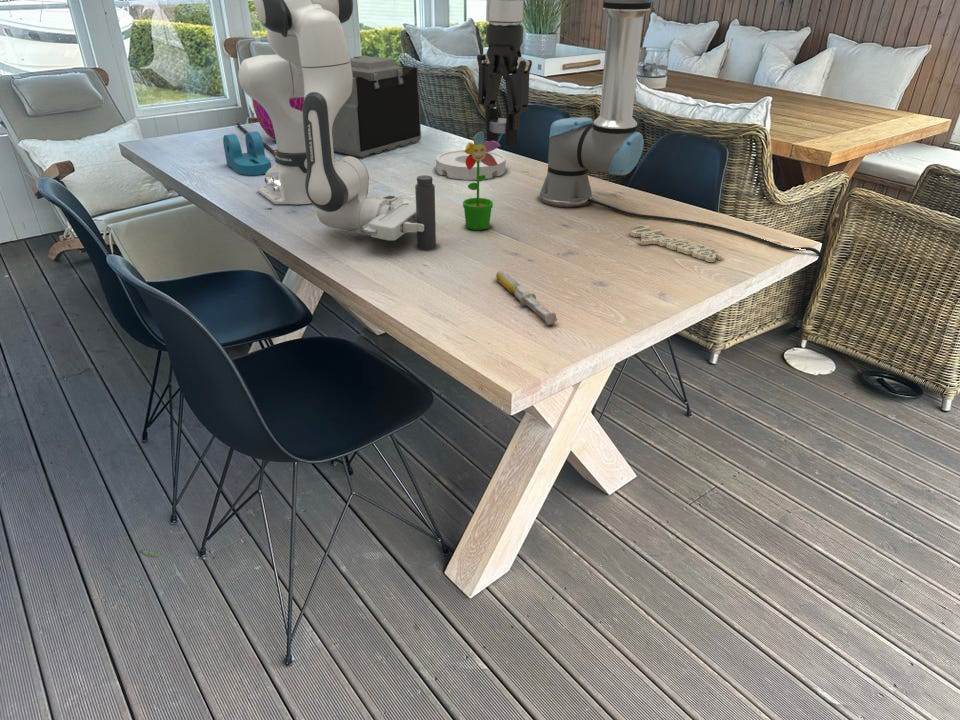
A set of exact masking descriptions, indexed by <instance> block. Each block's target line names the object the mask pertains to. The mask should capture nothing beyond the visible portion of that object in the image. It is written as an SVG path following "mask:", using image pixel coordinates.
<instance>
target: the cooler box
mask: <svg viewBox="0 0 960 720" xmlns="http://www.w3.org/2000/svg"><path fill="white" fill-rule="evenodd" d="M350 62H351V68H352V75H353V86H352V93H351V95H350V97H349V98H348V100H347V101H346V102H345V104H344V105H343V106H342V107H341V109H340V110H339V112H338V113H337V115H336V117H335V119H334V122H333V127H332V139H333V150H334V152H335V153H340V154H344V155H347V156H353V157H356V158H362V159H363V158H366V157H367V158H368V157H369V155H371V154H375V155H377V154H381V153H382V152H383V151H391V150H395V149H396V148H397V147H405V146H407V145H408V144H416V143H418V142H419V141H421V137H422V128H421V97H420V92H419V91H420V89H419V68H418V67H417V66H408V65H400V64H396V62H395V60H394V59H393V58H385V57H377V56H367V55H356V56H353V57H350Z"/></svg>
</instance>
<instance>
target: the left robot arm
mask: <svg viewBox="0 0 960 720" xmlns="http://www.w3.org/2000/svg"><path fill="white" fill-rule="evenodd" d="M254 8H255V12H256V14H257V17H258V18H259V20H260V23H261V24H262V26H264V27H265V28H266V39H267V43H268V46H269V47H270V48H271V50H272V51H273V52H274V54H259V55H255V56H252V57H248V58H245V59H243V60H242V61H241V63H240V65H239V68H238V72H237V73H238V74H237V75H238V82H239V85H240V87H241V89H242V90H243V92H244V93H245V94H246V95H247V96H248V97H250V98H251V99H252V98H253V99H254V100H256V101H257V102H258V103H259V104H260V105H261V106H262V107H263V108H264V109H265V110H266V112H267V113H268V115H269V117H270V119H271V121H272V124H273V128H274V133H275V138H276V140H275V143H276V149H273V148H271V147H270V145H268V144H266V143H265V142H264V141H263V145H264V148H266V150H268V151H269V152H271V153H272V155H274V163H273V164H272V165H271V168H270V169H269V170H268V171H267V172H266V174H264V176H265V177H264V183H265V185H264V186H262V187H260V188H259V189H258V193H259V194H261V195H262V196H263V197H265V198H266V199H267V200H269V201H270V202H271V203H273V204H274V205H309V204H312V205H313V206H314V207H315V213H316V216H317V218H318V220H319V222H320V223H322V224H323V225H325V226H327V227H328V228H332V229H336V230H341V231H347V232H354V231H355V232H356V231H358V232H361V233H362V234H367V235H370V237H372V238H374V239H380V240H384V241H389V242H391V241H397V240H398V239H399V238H401V237H402V236H403V235H404V234H406V233H414V232H415V233H416V232H417V231H419V232H423V231H424V230H425V229H426V224H425V223H421V222H418V223H417V220H416V199H411V198H399V196H398V195H395V194H391V195H388V196H383V197H369V196H368V193H369V186H370V185H369V183H370V181H369V180H370V178H369V177H370V175H369V171H368V169H367V167H366V165H365V164H364V162H363V161H361V160H360V159H359V158H358V157H356V156H353V155H344V156H341V157H340V158H338V159H336V160H335V153H334V150H333V139H332V127H333V122H334V119H335V117H336V115H337V113H338V112H339V110H340V109H341V107H342V106H343V105H344V104H345V102H346V101H347V100H348V98H349V97H350V95H351V93H352V86H353V75H352V68H351V62H350V58H351V56H350V51H349V47H348V43H347V39H346V35H345V32H344V28H343V26H342V24H344V23H346V22H348V21H349V20H350V18H351V17H352V15H353V11H354V0H254ZM296 97H304V102H303V112H302V111H299V110H297V109H294V108H292V107H291V106H290V103H289V99H290V98H296ZM236 126H237V127H238V128H239V129H240V130H241V131H242V132H243V133H244V134H246V133H247V132H248V130H246V129H245V128H244V127H243V126H242V125H241V124H240V123H239V122H236Z"/></svg>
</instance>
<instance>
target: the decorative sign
mask: <svg viewBox="0 0 960 720" xmlns="http://www.w3.org/2000/svg"><path fill="white" fill-rule="evenodd" d="M650 229H651V227H650V226H648V225H644V224H637V225H636V229H632V230H631V231H630V236H631V237H634V238H640V245H643V246H644V245H646V246H647V245H658V246H660V247H666V248H667V249H669V250H671V251H677V252H678V253H682V254H685V255H691V256H692V257H693V258H697V259H699V260H704V261H705V262H709V263H714V262H716V260H719V261H720V260H721V259H722V254H721V253H718V252H715V250H716V249H715V248H714V247H705V245H706V244H700V243H699V244H690V243H689V241H688V240H686V239H682V238H681V239H680V238H677V237H673V238H671V237H667V236H663V235H662V234H663V230H662V229H652V230H650Z"/></svg>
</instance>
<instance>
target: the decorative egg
mask: <svg viewBox="0 0 960 720" xmlns="http://www.w3.org/2000/svg"><path fill="white" fill-rule="evenodd" d="M251 101H252V107H253V110H254V114H255V116H256V118H257V121H258V123H259V125H260V127H261V128H262V130H263V131H264V133H266V135H267V136H268V137H270V138H271V139H273V140H275V141H276V138H275V133H274V128H273V124H272V121H271V119H270V117H269V115H268V113H267V112H266V110H265V109H264V108H263V107H262V106H261V105H260V104H259V103H258V102H257V101H256V100H254V99H253V98H251ZM303 102H304V97H296V98H290V99H289V103H290V106H291V107H292V108H294V109H297V110H299V111H302V112H303Z"/></svg>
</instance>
